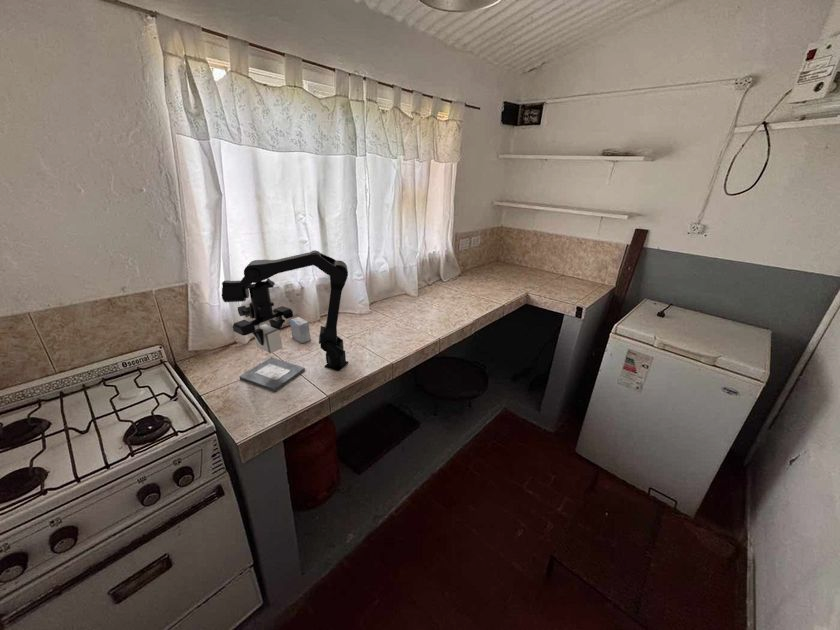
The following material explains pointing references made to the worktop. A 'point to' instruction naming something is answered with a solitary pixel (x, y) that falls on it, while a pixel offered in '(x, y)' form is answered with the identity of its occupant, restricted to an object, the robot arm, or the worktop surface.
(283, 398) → the worktop surface
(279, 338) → the light grey block
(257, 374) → the duct plate
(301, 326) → the medicine box
